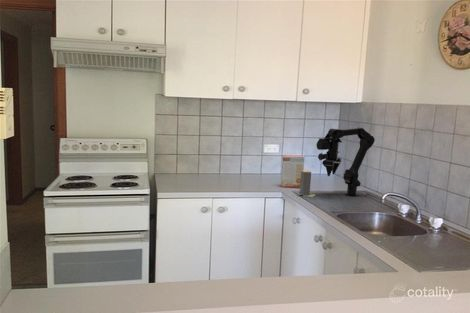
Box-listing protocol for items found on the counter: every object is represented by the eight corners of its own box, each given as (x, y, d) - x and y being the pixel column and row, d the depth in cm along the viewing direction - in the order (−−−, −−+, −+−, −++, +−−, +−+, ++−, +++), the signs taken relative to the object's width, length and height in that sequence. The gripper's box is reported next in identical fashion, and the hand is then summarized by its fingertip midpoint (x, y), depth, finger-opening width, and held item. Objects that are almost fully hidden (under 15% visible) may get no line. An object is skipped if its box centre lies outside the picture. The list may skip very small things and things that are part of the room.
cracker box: (301, 186, 284) (303, 155, 281) (302, 188, 278) (304, 156, 275) (280, 185, 283) (282, 154, 280) (281, 187, 277) (283, 155, 274)
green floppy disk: (303, 193, 262) (303, 192, 262) (315, 195, 258) (315, 194, 258) (299, 195, 256) (299, 194, 256) (311, 197, 252) (311, 196, 252)
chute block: (306, 193, 259) (308, 170, 257) (309, 195, 255) (311, 171, 253) (299, 193, 258) (301, 170, 256) (302, 195, 254) (304, 171, 252)
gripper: (325, 147, 266) (323, 171, 269) (314, 149, 250) (313, 175, 253) (342, 148, 261) (340, 173, 263) (333, 151, 245) (331, 178, 247)
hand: (331, 175), depth 257 cm, fingers open, 9 cm apart
